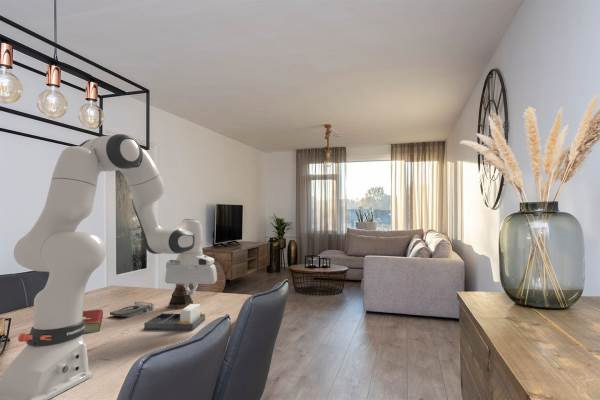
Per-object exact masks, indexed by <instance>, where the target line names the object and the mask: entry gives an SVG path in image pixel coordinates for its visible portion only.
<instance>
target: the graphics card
mask: <svg viewBox="0 0 600 400" xmlns="http://www.w3.org/2000/svg"><path fill="white" fill-rule="evenodd" d="M154 310H155V303H153V302H143V301H135V302H133V304H132V305H128V306H125V307H122V308H119V309H118V308H117V309H116V310H113V311H109V316H114V317H121V318H123V317H124V318H130V317H134V316H137V315H139V314H140V315H143V314H146V313H149V312H153V311H154Z"/></svg>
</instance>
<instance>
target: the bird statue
mask: <svg viewBox="0 0 600 400" xmlns="http://www.w3.org/2000/svg"><path fill="white" fill-rule="evenodd" d="M175 260H180V253H179V254H177V258H176V259H175ZM191 296H192V295H187V291H186V289H185V287H184V284H175V288H174V291H172V293H171V298H170V301H169V302H168V309H173V308H174V310H177V309H179V310H180V308H181V309H184V308H185V307H187V306H188V305H190V304H194V300H193V298H192V297H191Z"/></svg>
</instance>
